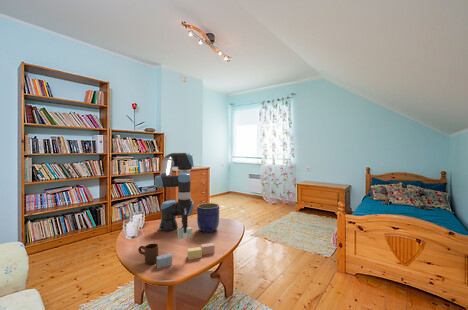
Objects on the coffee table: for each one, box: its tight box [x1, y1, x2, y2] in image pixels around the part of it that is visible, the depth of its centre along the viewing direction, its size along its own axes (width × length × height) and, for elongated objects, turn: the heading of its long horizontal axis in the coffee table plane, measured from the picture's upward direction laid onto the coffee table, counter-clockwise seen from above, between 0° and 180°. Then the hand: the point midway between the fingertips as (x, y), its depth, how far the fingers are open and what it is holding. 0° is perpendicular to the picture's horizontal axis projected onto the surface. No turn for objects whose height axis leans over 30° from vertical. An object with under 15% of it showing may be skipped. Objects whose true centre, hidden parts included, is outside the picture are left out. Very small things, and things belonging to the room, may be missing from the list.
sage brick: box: [176, 226, 193, 240], centre depth 131 cm, size 8×4×5 cm, turn 115°
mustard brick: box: [187, 246, 203, 260], centre depth 131 cm, size 8×4×5 cm, turn 110°
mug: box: [138, 243, 159, 266], centre depth 125 cm, size 12×8×9 cm, turn 83°
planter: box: [196, 202, 220, 234], centre depth 175 cm, size 18×18×21 cm
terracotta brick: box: [200, 242, 216, 256], centre depth 137 cm, size 8×4×5 cm, turn 110°
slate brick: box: [155, 253, 173, 269], centre depth 122 cm, size 8×4×5 cm, turn 119°
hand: (184, 235), depth 131 cm, fingers closed on sage brick, 4 cm apart
